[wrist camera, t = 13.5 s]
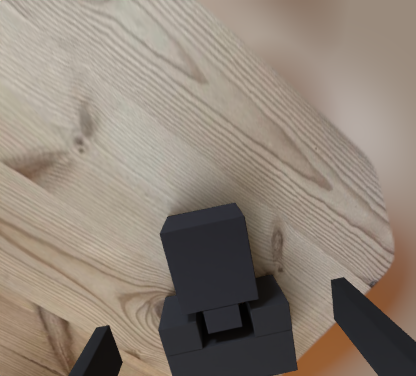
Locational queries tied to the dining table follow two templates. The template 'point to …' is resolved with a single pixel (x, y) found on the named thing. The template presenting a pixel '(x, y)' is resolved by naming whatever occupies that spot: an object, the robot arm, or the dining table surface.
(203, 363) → the base pad
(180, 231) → the loose pad
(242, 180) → the dining table surface
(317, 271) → the dining table surface
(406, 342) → the robot arm
